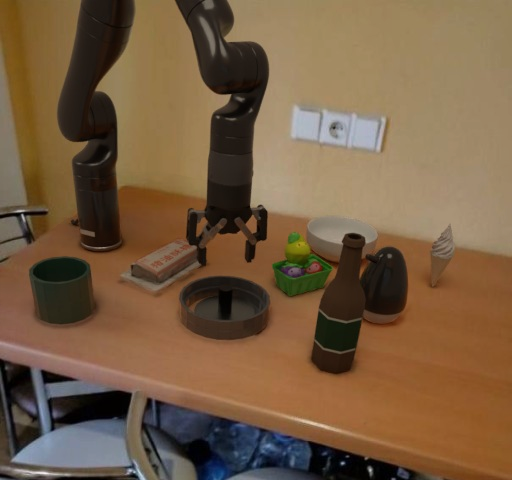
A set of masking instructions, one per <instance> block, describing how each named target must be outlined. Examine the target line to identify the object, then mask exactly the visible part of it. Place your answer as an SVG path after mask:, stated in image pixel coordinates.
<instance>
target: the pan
mask: <svg viewBox="0 0 512 480" xmlns="http://www.w3.org/2000/svg"><path fill="white" fill-rule="evenodd" d="M223 284H227V285H231V286H232V287H233V292H232V296H235V297H239V298H242V299H244V300H246V301H248V302H249V303H250V304H251V305H252V306H253V307H254V310H255V315H253V316H251V317H247V318H244V319H237V320H217V319H211V318H207V317H204V316H201V315H198V314H196V313H195V311H193V310H191V309H190V308H189V307H191V305H193V304H194V303H196V302H197V301H201V300H203V299H205V298H208V297H211V296H217V295H219V286H220V285H223ZM270 310H271V296H270V294H269V292H268V291H267V289H265V288H264V287H263V286H262V285H261V284H259V283H257V282H255V281H253V280H250V279H248V278H243V277H239V276H233V275H209V276H205V277H204V276H203V277H201V278H197V279H195V280H193V281H190V282H188V283H187V284H186V285H184V286H183V287H182V289H181V290H180V292H179V296H178V317H179V320H180V322H181V324H182V325H183V326H184V327H185V328H186V329H187V330H188V331H190V332H192V333H193V334H195V335H197V336H200V337H203V338H206V339H212V340H217V341H234V340H235V341H236V340H242V339H246V338H249V337H253V336H255V335H256V334H258V333H261V332H262V331H263V330H264V329H265V328H266V327H267V325H268V323H269V320H270Z"/></svg>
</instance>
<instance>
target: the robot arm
mask: <svg viewBox="0 0 512 480" xmlns="http://www.w3.org/2000/svg"><path fill="white" fill-rule="evenodd" d="M174 2H175V5H176V6H177V9H178V11H179V12H180V13H179V14H180V15H181V16H182V18H183V21H184V22H185V24H186V26H187V28H188V30H189V32H190V35H191V40H192V43H193V48H194V53H195V57H196V61H197V67H198V71H199V75H200V77H201V80H202V82H203V83H204V85H205V86H206V88H208V90H210V91H211V92H213V93H214V94H216V95H219V96H229V95H230V96H229V99H228V102H227V103H225V105H223V106H221V107H219V108H217V109H215V110H214V111H213V112H212V114H211V116H210V126H209V127H210V128H209V149H208V150H209V151H208V157H207V169H206V171H207V172H206V173H207V174H206V175H207V177H206V205H205V207H204V210H201V209H195V208H193V207H189V208H188V209H187V215H186V216H187V218H186V231H185V240H186V241H188V243H189V245H190V246H193V245H194V246H197V256H196V258H197V260H198V262H199V264H201V266H200V267H202V268H203V267H207V262H206V259H207V253H208V251H207V250H208V249H207V245H208V244H209V242H210V241H212V240H214V239H215V237H216V236H217V234H219V236H220V235H221V236H223V235H227V234H231V235H236V234H238V233H239V232H241V233H242V234H243V235H244V236H245V238H246V240H245V246H244V247H245V248H244V261H245V262H246V263H247V264H251V263H252V262H253V260H255V258H256V249H257V244H258V243H259V242H261V241H262V242H264V241H266V240H267V239H268V217H269V216H268V215H269V214H268V212H269V211H268V210H267V209H266V208H265V206H264V205H263V204H258V205H257V206H256V207H251V202H252V189H253V188H252V187H253V177H254V138H255V124H256V122H257V118H258V116H259V113H260V111H261V107H262V103H263V101H264V98H265V95H266V91H267V88H268V84H269V80H270V79H269V78H270V62H269V58H268V54H267V52H266V50H265V49H264V47H263V46H262V45H261V44H260V43H258V42H256V41H251V40H245V41H243V40H241V41H227V40H226V39H225V38H226V37H227V36H228V35H229V34H230V33H231V31H232V29H233V28H234V25H235V15H234V11H233V9H232V7H231V4H230V2H229V1H228V0H174ZM136 9H137V8H136V0H80V4H79V10H78V14H77V15H78V16H77V23H76V30H75V36H74V39H73V40H74V41H73V46H72V50H71V54H70V59H69V62H68V63H69V64H68V67H67V71H66V74H65V78H64V81H63V85H62V88H61V90H60V94H59V98H58V102H57V107H56V119H57V126H58V129H59V132H60V133H61V136H62V137H64V138H65V140H67V141H69V142H72V143H85V142H87V143H86V144H85V146H84V147H83V148H82V149H81V150H80V151H79V152H77V153H76V154H75V155H74V156H73V157H72V159H71V171H72V179H73V186H74V187H73V188H74V195H75V196H74V197H75V204H76V212H77V213H76V214H77V218H76V219H75V220H74V219H71V220H70V223H71V224H72V225H74V226H75V225H76V226H77V225H78V230H79V238H80V239H79V243H80V247H82V248H83V249H84V250H88V251H90V252H110V251H113V250H116V249H118V248H119V247H121V246H122V243H123V240H122V239H123V238H122V230H121V217H120V204H119V190H118V177H117V163H118V158H119V135H118V134H119V133H118V131H119V129H118V117H117V110H116V107H115V103H114V102H113V100H112V98H111V97H110V96H109V95H108V94H107V93H106V92H105V91H101V90H97V88H98V86H99V84H100V83H101V82H102V80H103V79H104V78H105V76H107V74H108V73H109V72H110V70H111V69H112V68H113V67H114V66H115V65H116V63H117V62H118V61H119V60H120V58H121V57H122V55H123V54H124V53H125V50H126V49H127V47H128V44H129V42H130V38H131V34H132V30H133V26H134V22H135V17H136V12H137V11H136ZM252 217H253V218H254V219H255V220H256V231H255V232H252V231H251V230H250V228H249V227H248V226H247V223H248V222H249V221H250V219H251V218H252ZM203 218H205V220H206V223H205V224H204V226H203V227H202V230H201V231H200V233H199V234H198V235H197V232H198V231H197V229H198V225H199V224H200V223H201V222H202V219H203Z"/></svg>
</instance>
